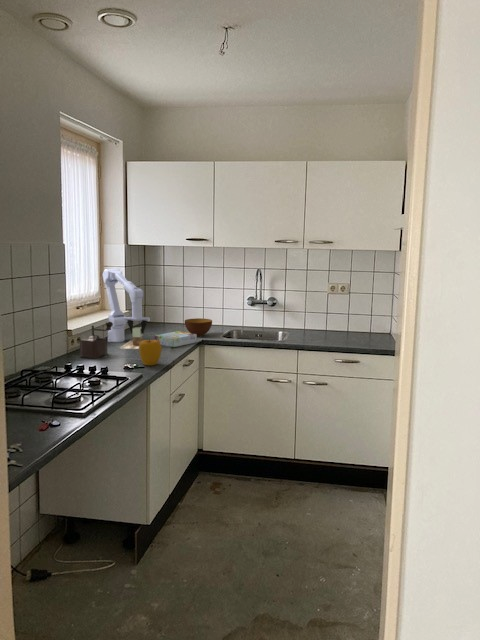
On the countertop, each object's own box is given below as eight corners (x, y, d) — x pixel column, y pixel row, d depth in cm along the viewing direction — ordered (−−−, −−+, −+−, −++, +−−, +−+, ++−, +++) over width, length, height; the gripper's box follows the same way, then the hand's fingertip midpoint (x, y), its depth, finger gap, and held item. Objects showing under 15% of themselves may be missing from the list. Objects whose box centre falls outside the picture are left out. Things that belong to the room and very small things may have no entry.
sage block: (132, 337, 309) (132, 328, 308) (134, 335, 313) (134, 327, 312) (140, 337, 308) (140, 328, 307) (142, 335, 313) (142, 327, 312)
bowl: (187, 339, 335) (187, 323, 333) (182, 334, 351) (182, 318, 350) (214, 337, 339) (214, 322, 338) (209, 332, 356) (208, 318, 355)
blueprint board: (118, 349, 302) (118, 348, 302) (130, 341, 326) (130, 340, 325) (148, 350, 301) (148, 348, 300) (158, 342, 324) (158, 340, 324)
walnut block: (133, 345, 310) (132, 337, 309) (135, 343, 314) (135, 335, 313) (140, 345, 309) (140, 337, 308) (142, 344, 314) (142, 335, 313)
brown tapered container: (95, 359, 278) (94, 325, 275) (79, 356, 283) (78, 323, 281) (115, 353, 292) (114, 321, 289) (100, 351, 297) (99, 319, 294)
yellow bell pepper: (163, 362, 273) (162, 337, 271) (159, 367, 262) (159, 341, 260) (141, 361, 273) (140, 337, 271) (137, 367, 262) (136, 341, 260)
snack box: (154, 344, 316) (173, 347, 307) (154, 335, 315) (173, 338, 306) (178, 339, 333) (197, 342, 324) (178, 330, 332) (197, 333, 323)
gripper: (122, 310, 305) (123, 334, 307) (147, 311, 304) (148, 334, 306) (126, 309, 312) (126, 332, 314) (150, 309, 311) (151, 332, 313)
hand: (137, 333), depth 310 cm, fingers open, 6 cm apart
